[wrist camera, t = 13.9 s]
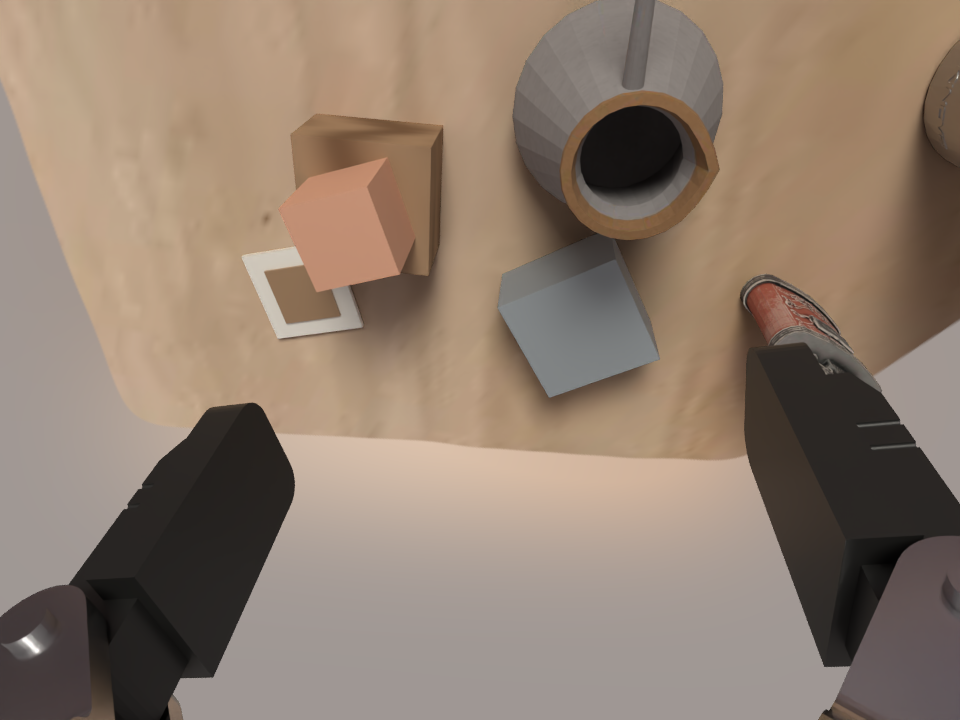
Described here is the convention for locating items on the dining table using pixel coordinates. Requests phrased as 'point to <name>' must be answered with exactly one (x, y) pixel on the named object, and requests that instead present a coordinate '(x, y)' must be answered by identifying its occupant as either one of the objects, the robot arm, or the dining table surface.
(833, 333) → the lighter
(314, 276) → the terracotta cube
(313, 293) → the white square frame
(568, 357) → the slate block
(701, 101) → the coffee pot
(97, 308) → the dining table surface
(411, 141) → the walnut block
